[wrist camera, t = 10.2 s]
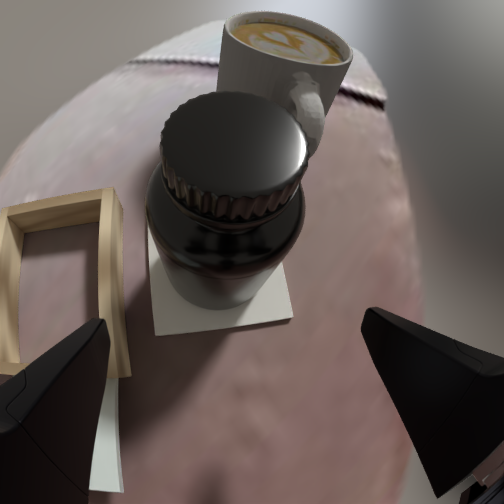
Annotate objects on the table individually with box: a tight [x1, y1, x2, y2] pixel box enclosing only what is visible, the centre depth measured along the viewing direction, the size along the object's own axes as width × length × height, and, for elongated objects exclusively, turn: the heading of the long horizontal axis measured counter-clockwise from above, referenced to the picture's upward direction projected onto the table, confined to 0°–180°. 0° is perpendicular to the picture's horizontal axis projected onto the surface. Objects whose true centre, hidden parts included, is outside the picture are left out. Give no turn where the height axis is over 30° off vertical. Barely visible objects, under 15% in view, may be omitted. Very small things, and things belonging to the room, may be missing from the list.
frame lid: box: [13, 375, 124, 493], centre depth 12 cm, size 7×8×4 cm
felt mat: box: [148, 227, 293, 336], centre depth 20 cm, size 9×9×1 cm
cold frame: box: [0, 187, 132, 378], centre depth 16 cm, size 12×10×3 cm
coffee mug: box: [216, 11, 353, 157], centre depth 21 cm, size 13×10×10 cm
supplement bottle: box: [145, 91, 310, 310], centre depth 14 cm, size 7×7×12 cm
